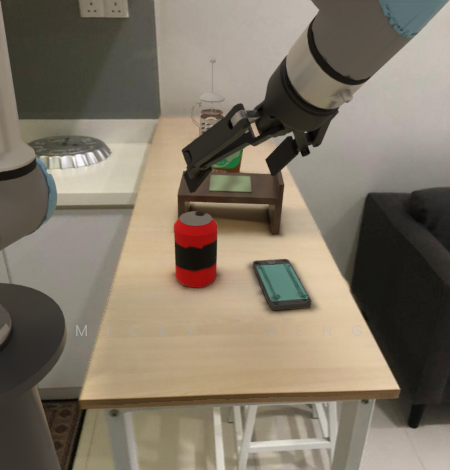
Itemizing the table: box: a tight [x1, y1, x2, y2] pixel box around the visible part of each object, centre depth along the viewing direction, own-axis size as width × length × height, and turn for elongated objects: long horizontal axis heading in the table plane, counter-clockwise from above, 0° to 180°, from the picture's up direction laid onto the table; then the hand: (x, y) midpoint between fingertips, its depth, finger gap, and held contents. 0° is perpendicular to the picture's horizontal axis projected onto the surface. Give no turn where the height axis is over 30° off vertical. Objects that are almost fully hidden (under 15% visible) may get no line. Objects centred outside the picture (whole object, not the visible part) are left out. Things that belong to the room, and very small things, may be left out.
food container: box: [211, 148, 245, 173], centre depth 125 cm, size 12×6×10 cm, turn 88°
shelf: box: [177, 170, 285, 236], centre depth 104 cm, size 22×14×12 cm, turn 89°
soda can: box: [173, 210, 218, 288], centre depth 83 cm, size 8×8×12 cm
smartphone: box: [252, 258, 312, 311], centre depth 85 cm, size 7×1×15 cm
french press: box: [190, 57, 226, 137], centre depth 146 cm, size 10×12×25 cm
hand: (231, 175), depth 66 cm, fingers open, 13 cm apart
